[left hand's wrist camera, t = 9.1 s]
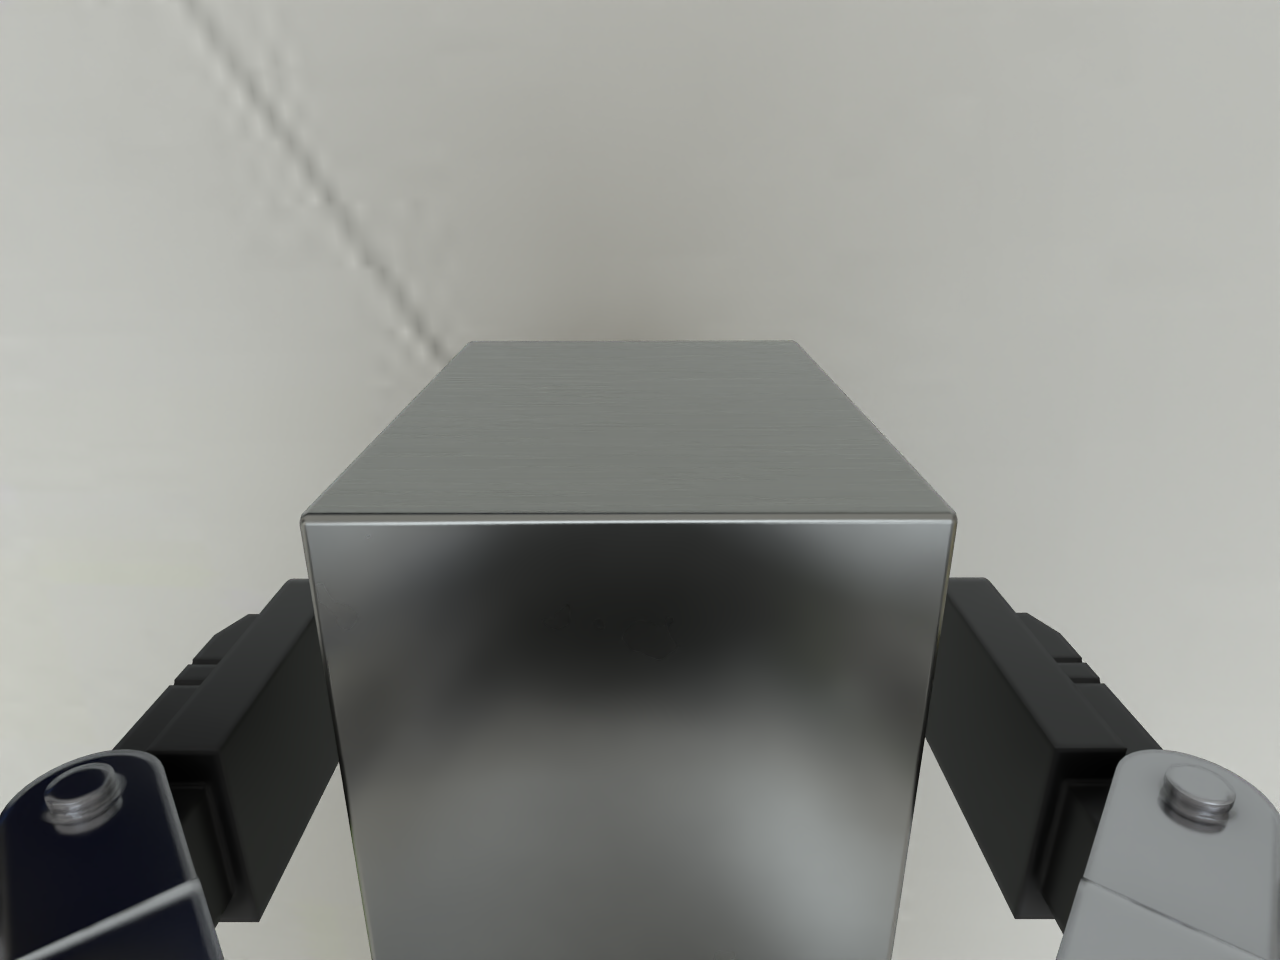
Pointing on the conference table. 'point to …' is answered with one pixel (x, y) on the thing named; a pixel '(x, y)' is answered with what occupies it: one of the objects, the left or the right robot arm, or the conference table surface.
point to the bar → (630, 657)
